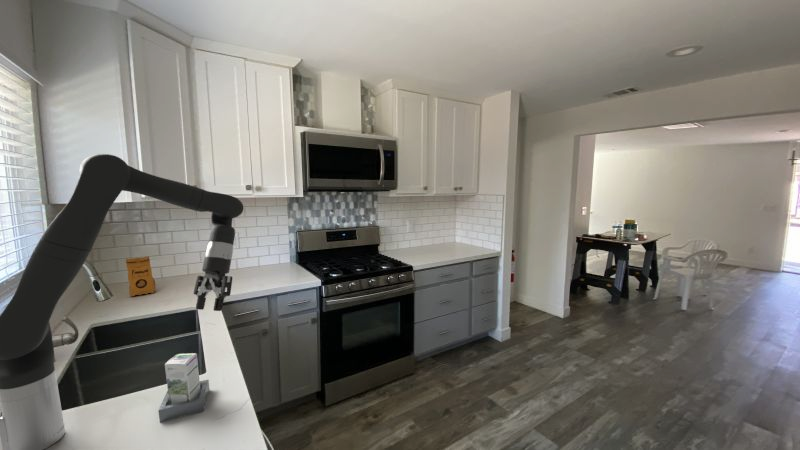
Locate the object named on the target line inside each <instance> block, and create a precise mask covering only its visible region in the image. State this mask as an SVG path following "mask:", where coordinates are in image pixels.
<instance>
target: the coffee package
mask: <svg viewBox="0 0 800 450" xmlns="http://www.w3.org/2000/svg"><path fill="white" fill-rule="evenodd" d="M125 263H126V269H127V280H128V284H129V287H128V288H129V290H128V291H129V292H128V293H129V296H130V297H136V296H135V295H139V296H143V295H142V294H147V295H149V294H148V293H152V294H155V292H156V291H157V289H156V281H155V279H154V277H153V273H152V272H153V271H152V267H151V260H150V256H143V257H142V256H141V257H135V258H134V257H133V258H125ZM155 290H156V291H155ZM154 291H155V292H154Z"/></svg>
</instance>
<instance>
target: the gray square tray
mask: <svg viewBox="0 0 800 450" xmlns="http://www.w3.org/2000/svg"><path fill="white" fill-rule="evenodd" d="M199 381H200V389H201V392H200V395H199V398H198V399H194V400H189V401H185V402H181V403H176V404H172V405H170V402H169V395H168V390H167V391H166V392H165V395H164V397H163V400H162V402H161V404H160V406H159V408H158V409H157V410H158V418H159V419H158V420H159V423H162V422H167V421H170V420H174V419H179V418H182V417H187V416H191V415H195V414H199V413H203V412H205V408H206V405H207V401H208V397H209V393H210V390H211V389H210V382H209V379H206V380H205V379H204V380H199Z"/></svg>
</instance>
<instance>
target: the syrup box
mask: <svg viewBox="0 0 800 450" xmlns="http://www.w3.org/2000/svg"><path fill="white" fill-rule="evenodd" d="M164 370H165V377H166V384H167V385H166V387H167V391H168V395H169V402H170V405H172V404H176V403H181V402H185V401H189V400H194V399H198V398H199V395H200V392H201V389H200V381H201V380H200V373H199V361H198V354H197V353H195V352H194V353H193V352H191V353H177V354H175V355H174V356H173V357H171V358H170V359H168V360H167V362H165V363H164Z"/></svg>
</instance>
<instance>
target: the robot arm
mask: <svg viewBox="0 0 800 450" xmlns="http://www.w3.org/2000/svg"><path fill="white" fill-rule="evenodd" d="M79 174H80V176H79V179H78V181H77V182H76V183H77V184H76V186H75V188H74V191H73V193H72V195H71V197H70V198H69V201H68V202H67V203H66V205H65V206H64V207H63V208H62V210H61V211H59V213H57V215H56V216H55V218H54V219H53V220H52V221H51V222H50V224H49V225H48V227H46V229H45V231H44V232H43V234H42V235H41V237H40V238H39V240H38V242H37V244H36V246H35V247H34V248H33V251H32V254H31V256H30V257H29V260H28V262H27V264H26V265H25V268H24V270H23V273H22V275H21V277H20V279H19V282H18V286H17V288H16V290H15V292H14V294H13V296H12V298H10V301H9V302H8V304H7V305H6V307H5V308H4V310H2V313H1V314H0V411H1V416H0V444H1V448H2V450H46V449H47V448H49V447H50V446H53V445H54V444H56V443H57V442H58V441H59V440H60V439H62V438H63V436H64V435H65V433H66V429H65V423H64V416H63V410H62V405H61V398H60V392H59V386H58V380H57V374H56V368H55V350H54V342H53V335H52V328H51V323H50V320H51V317H52V315H53V314H54V310H55V308H56V306H57V304H58V303H59V300H60V299H61V298H62V296H63V294H65V292H66V291H67V290H68V288H69V286H70V285H71V284H72V282H73V281H74V280H75V278H76V277H77V275H78V273H80V271H81V269H82V267H83V266H84V264H85V262H86V260H87V258H88V257H89V255H90V253H91V251H92V249H93V246H94V244H95V242H96V240H97V238H98V236H99V234H100V232H101V229H102V226H103V224H104V221H105V218H106V216H107V214H108V212H109V211H110V209H111V207H112V205H113V204H114V202H115V201H116V200H117V199H118V197H119V196H120V194H121V193H122V191H124V192H130V193H134V194H138V195H141V196H146V197H149V198H153V199H156V200H159V201H161V202H165V203H168V204H171V205H174V206H177V207H181V208H184V209H187V210H192V211H194V212H198V213H199V212H202V213H204V212H205V213H207V212H209V213H210V225H211V230H210V234H209V239H208V242H207V243H208V244H207V246H206V250H205V254H204V259H203V263H202V268H201V269H202V270H201V271H202V272H204V275H198V276H197V278H196V281H195V285H194V288H193V289H194V290H193V295H195V296H196V297H197V300H196V305H195V310H200V311H201V310H204V309H205V306H206V301H207V296H208V295H209V293H210V292H214V294H215V298H214V303H213V304H214V305H213V311H214V312H221V311H222V310H223V307H224V306H223V305H224V300H225V299H226V297H230V296H231V291H232V285H233V276H230V275H228V274H229V273H230V269H231V263H232V258H233V252H234V243H235V237H236V229H235V228H234V227H233V219H234V218H238V217H240V216H241V215H242V214H243V212H244V204H243V202H242V201H241V200H240V199H239V198H238V197H235V196H234V195H231V194H230V195H229V194H225V193H220V192H214V191H208V190H205V189H202V188H200V187H197V186H194V185H191V184H186V183H185V182H180V181H176V180H172V179H169V178H164V177H160V176H157V175H153V174H151V173H148V172H145V171H142V170H140V169H137V168H135V167H132V166H130V165H128V164H127V162H125V160H124V159H122V158H120V157H119V156H117V155H113V154H109V153H108V154H107V153H97V154H92V155H90V156H88V157H86V158H84V159H83V160H82V161H81V163H80V165H79ZM226 274H227V275H226Z"/></svg>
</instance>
